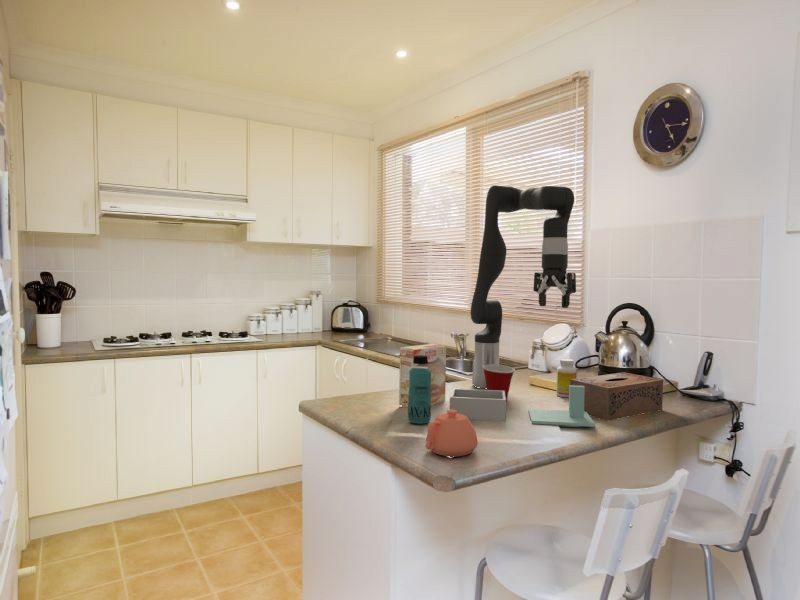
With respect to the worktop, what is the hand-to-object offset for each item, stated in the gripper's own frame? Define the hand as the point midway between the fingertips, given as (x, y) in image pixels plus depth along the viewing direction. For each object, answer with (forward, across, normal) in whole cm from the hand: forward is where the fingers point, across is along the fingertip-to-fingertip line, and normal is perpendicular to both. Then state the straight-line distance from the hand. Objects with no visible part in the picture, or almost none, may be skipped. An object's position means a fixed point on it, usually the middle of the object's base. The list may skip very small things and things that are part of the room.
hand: (553, 306), depth 160 cm
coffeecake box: (+33, -30, -27) cm, 52 cm away
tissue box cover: (+34, +7, +22) cm, 41 cm away
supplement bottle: (+33, -14, +24) cm, 43 cm away
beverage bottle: (+33, -12, -41) cm, 54 cm away
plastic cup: (+33, -20, -3) cm, 39 cm away
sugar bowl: (+33, +10, -48) cm, 59 cm away
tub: (+33, -10, -21) cm, 40 cm away
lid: (+32, +7, -4) cm, 33 cm away
